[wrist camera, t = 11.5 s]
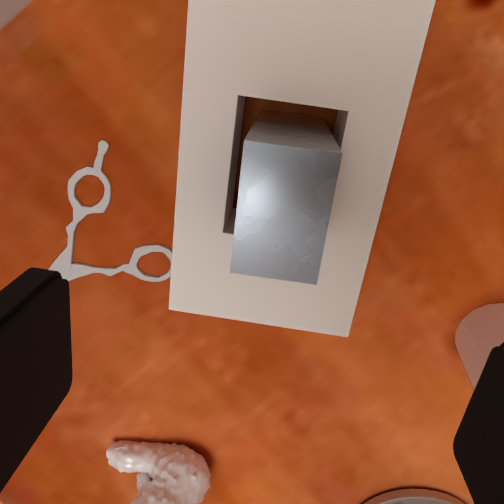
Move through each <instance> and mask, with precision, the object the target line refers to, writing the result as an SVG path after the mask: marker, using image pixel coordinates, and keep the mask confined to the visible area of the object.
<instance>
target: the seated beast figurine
mask: <svg viewBox="0 0 504 504" xmlns="http://www.w3.org/2000/svg"><path fill="white" fill-rule="evenodd" d="M106 456H107V458H109V460H108V463H109V465H110V466H113V467H114V468H116V469H118V471H119V472H121V473H122V472H126V473H131V472H138V474H137V483H136V486H137V488H138V494H137V498H136V499H134V500H132V502H131V503H130V504H199V503H200V502H202V501H203V499H204V496H205V494H206V492H207V491H208V489H209V488H210V487H211V485H210V477H211V473H210V472H209V467H208V465H207V463H206V462H205V459H204V457H203V456H202V455H200V454H198V453H196V452H195V451H194V450H193V449H190V448H189V447H187V446H185V445H184V444H181V445H177V444H176V443H172V444H171V445H170V444H168V443H160V442H159V443H151V442H138V441H128V440H119V441H118V442H112V443H110V444H109V446H108V448H107V452H106Z"/></svg>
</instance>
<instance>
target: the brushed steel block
mask: <svg viewBox="0 0 504 504" xmlns="http://www.w3.org/2000/svg"><path fill="white" fill-rule="evenodd" d="M341 159H342V151H341V150H340V148H339V146H338V144H337V143H336V141H335V139H334V137H333V136H332V134H331V132H330V130H329V129H328V127H327V125H326V123H325V122H324V120H323V118H318V117H310V116H302V115H294V114H287V113H279V112H271V111H264V110H261V112H260V113H259V115H258V117H257V119H256V120H255V122H254V124H253V125H252V127H251V129H250V131H249V132H248V134H247V136H246V137H245V139H244V144H243V153H242V162H241V172H240V181H239V191H238V200H237V209H236V219H235V228H234V237H233V247H232V256H231V266H230V273H235V274H242V275H250V276H257V277H264V278H271V279H278V280H285V281H293V282H300V283H307V284H314V285H317V281H318V275H319V270H320V265H321V260H322V255H323V250H324V245H325V240H326V235H327V230H328V225H329V220H330V214H331V209H332V204H333V199H334V194H335V189H336V184H337V179H338V174H339V169H340V164H341Z"/></svg>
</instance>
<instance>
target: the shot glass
mask: <svg viewBox="0 0 504 504" xmlns="http://www.w3.org/2000/svg"><path fill="white" fill-rule="evenodd" d="M503 342H504V303H496V304H487V305H484V306H482V307H479V308H477V309H474V310H473V311H471V312H470V313H469V314H468V315H467V316H465V317H464V318H463V319H462V320H461V322H460V324H459V326H458V327H457V329H456V331H455V345H456V347H457V350H458V352H459V355H460V357H461V360H462V362H463V364H464V367H465V369H466V372H467V374H468V377H469V379H470V382H471V384H472V386H473V389H474V390H475V387H476V385H477V383H478V380H479V378H480V375H481V373H482V371H483V368H484V366H485V363H486V361H487V359H488V356H489V354H490V352H491V350H492V349H493V348H494V347H496V346H500V345H501V344H502V343H503Z"/></svg>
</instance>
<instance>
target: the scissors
mask: <svg viewBox="0 0 504 504" xmlns="http://www.w3.org/2000/svg"><path fill="white" fill-rule="evenodd" d="M109 145H110V144H109V143H108V142H107V141H105V140H102V141H100V142H99V143H98V154H97V157H96V159H95V163H94V167H90V166H88V167H85V168H83V169H81V170H78V171H76V172H75V174H74V175H73V176H72V177H71V178H70V180H69V181H68V197H69V201H70V203H71V205H72V207H73V221H72V222H71V223H70V224H69V225H68V226H67V227H66V230H67V234H68V245H67V248H66V249H65V250H64V251H63V252H62V253H61V254H60V255H59V257H58V258H57V259H56V260H55V262H54V263H53V264H52V266H51V267H50V268H49V269H48V270H53V271H58V272H60V273H61V276H62V279H66V280H68V281H70V280H72V279H75V278H78V277H81V276H84V275H88V274H91V273H94V272H96V273H103V274H106V275H108V276H112V275H114V274H116V273H119V272H121V271H124V272H127V273H129V274H132V275H134V276H136V277H138V278H139V279H142V280H145V281H152V282H158V281H164V280H165V279H167V278H169V277H170V276H171V268H170V270H169V271H168V272H167V273H165V274H163V275H161V276H152V275H147V274H144V273H143V272H142V271H141V270H140V269H139V268H138V264H137V262H138V260H139V258H140V257H141V256H143V255H145V254H147V253H150V252H163V253H165V254H166V256H167V257H168V258H169V260H170V261H171V265H172V250H171V249H170V248H167V247H165V246H162V245H160V244H149V245H143V246H140V247H137V248H135V250H134V252H133V255H132V257H131V260H130V263H124V264H122V265H120V266H119V267H99V266H92V265H88V264H83V263H73V252H74V237H75V230H76V228H77V225H78V222H79V221H80V220H82V219H83V218H84V217H85V216H86V215H87V214H91V213H103V212H105V210H106V209H107V207H108V205H109V203H110V200H111V194H112V192H111V183H110V181H109V178H108V177H107V176H106V175H105V173H104V172H103V171H102V166H103V160H104V155H105V153H106V152H107V150H108V148H109ZM87 174H89V175H94V176H97V177H99V179H100V180H101V181H102V183H103V184H104V187H105V192H104V197H103V199H102V200H101V201H100V202H99V203H98V204H96V205H95V206H83V205H82V203H81V202H80V201H79V200H78V198H77V197H76V193H75V189H76V184H77V182H78V181H79V180H80V179H81V178H82V177H83V176H85V175H87Z"/></svg>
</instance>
